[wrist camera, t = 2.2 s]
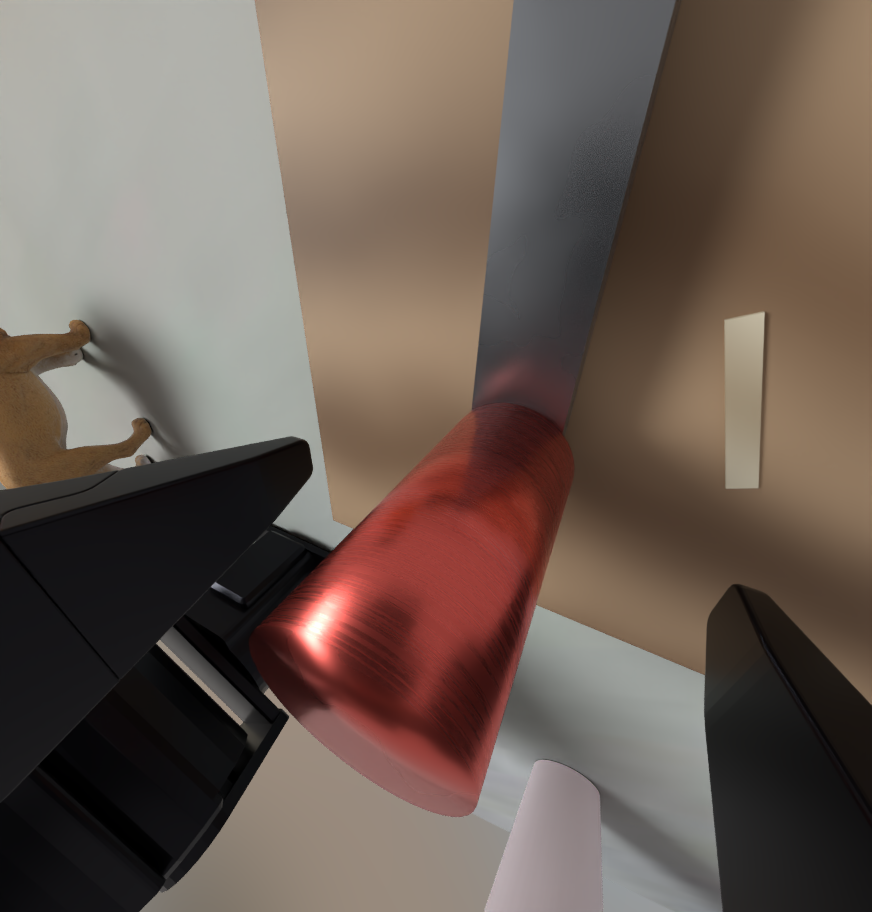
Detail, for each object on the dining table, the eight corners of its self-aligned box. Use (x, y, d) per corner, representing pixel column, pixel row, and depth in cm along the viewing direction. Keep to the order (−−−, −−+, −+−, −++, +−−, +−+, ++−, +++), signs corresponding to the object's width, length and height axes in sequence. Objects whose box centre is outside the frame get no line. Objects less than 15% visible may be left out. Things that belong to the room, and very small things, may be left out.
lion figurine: (21, 292, 22) (-254, 319, 16) (37, 251, 19) (-294, 262, 13) (167, 491, 27) (5, 579, 20) (199, 483, 24) (21, 584, 17)
